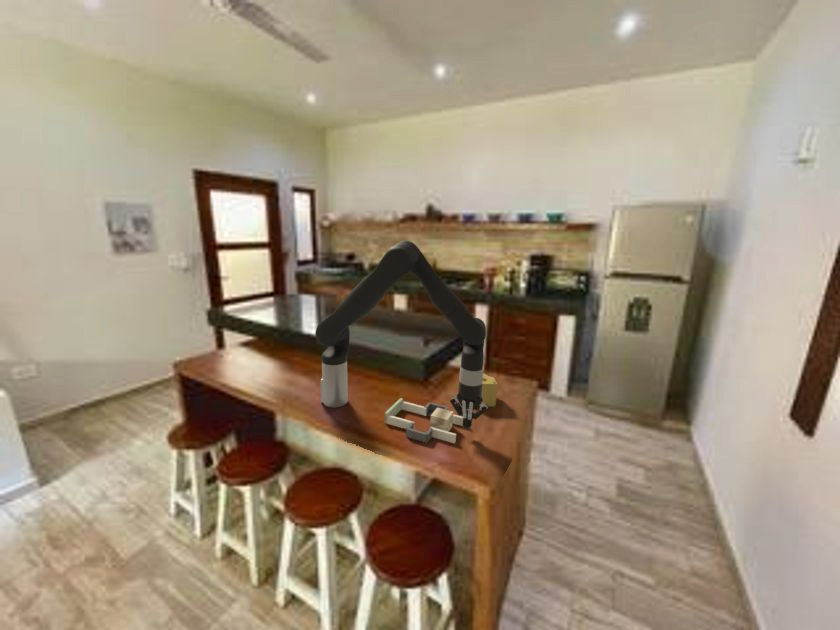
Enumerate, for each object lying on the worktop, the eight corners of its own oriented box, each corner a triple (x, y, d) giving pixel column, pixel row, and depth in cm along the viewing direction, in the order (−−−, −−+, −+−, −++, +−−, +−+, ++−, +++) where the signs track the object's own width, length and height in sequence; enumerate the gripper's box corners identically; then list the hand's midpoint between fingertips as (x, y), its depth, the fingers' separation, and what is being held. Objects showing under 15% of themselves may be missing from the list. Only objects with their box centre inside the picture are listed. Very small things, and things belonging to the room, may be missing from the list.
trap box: (378, 428, 125) (379, 418, 124) (404, 402, 143) (405, 393, 142) (450, 450, 116) (451, 439, 114) (469, 419, 133) (469, 409, 132)
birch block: (429, 431, 126) (430, 415, 124) (436, 422, 131) (437, 407, 129) (446, 435, 123) (447, 420, 122) (452, 426, 129) (453, 411, 127)
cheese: (490, 394, 153) (492, 372, 150) (496, 407, 142) (498, 384, 140) (465, 394, 152) (467, 372, 150) (469, 407, 142) (471, 383, 139)
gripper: (447, 380, 117) (444, 427, 122) (488, 389, 112) (483, 438, 117) (455, 371, 124) (452, 417, 128) (493, 379, 119) (489, 426, 123)
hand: (467, 427), depth 122 cm, fingers closed
